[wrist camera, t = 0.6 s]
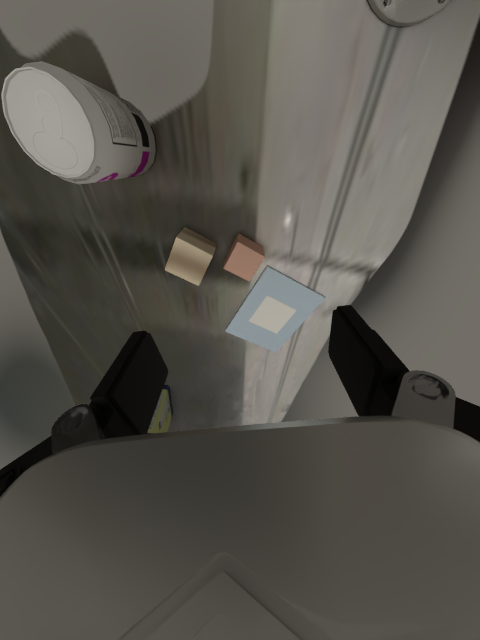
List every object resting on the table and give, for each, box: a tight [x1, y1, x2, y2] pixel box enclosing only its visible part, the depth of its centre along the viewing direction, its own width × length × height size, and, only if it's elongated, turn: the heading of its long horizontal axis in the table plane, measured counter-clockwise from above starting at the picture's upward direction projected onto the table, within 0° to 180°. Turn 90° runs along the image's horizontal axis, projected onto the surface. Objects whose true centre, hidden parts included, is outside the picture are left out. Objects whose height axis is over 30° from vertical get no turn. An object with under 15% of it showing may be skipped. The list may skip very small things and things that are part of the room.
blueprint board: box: [225, 265, 325, 353], centre depth 47 cm, size 18×14×1 cm
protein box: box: [147, 385, 173, 434], centre depth 61 cm, size 10×16×16 cm
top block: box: [224, 233, 265, 282], centre depth 38 cm, size 5×5×5 cm
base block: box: [165, 227, 217, 286], centre depth 37 cm, size 6×6×6 cm
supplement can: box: [1, 61, 156, 184], centre depth 24 cm, size 8×8×15 cm
